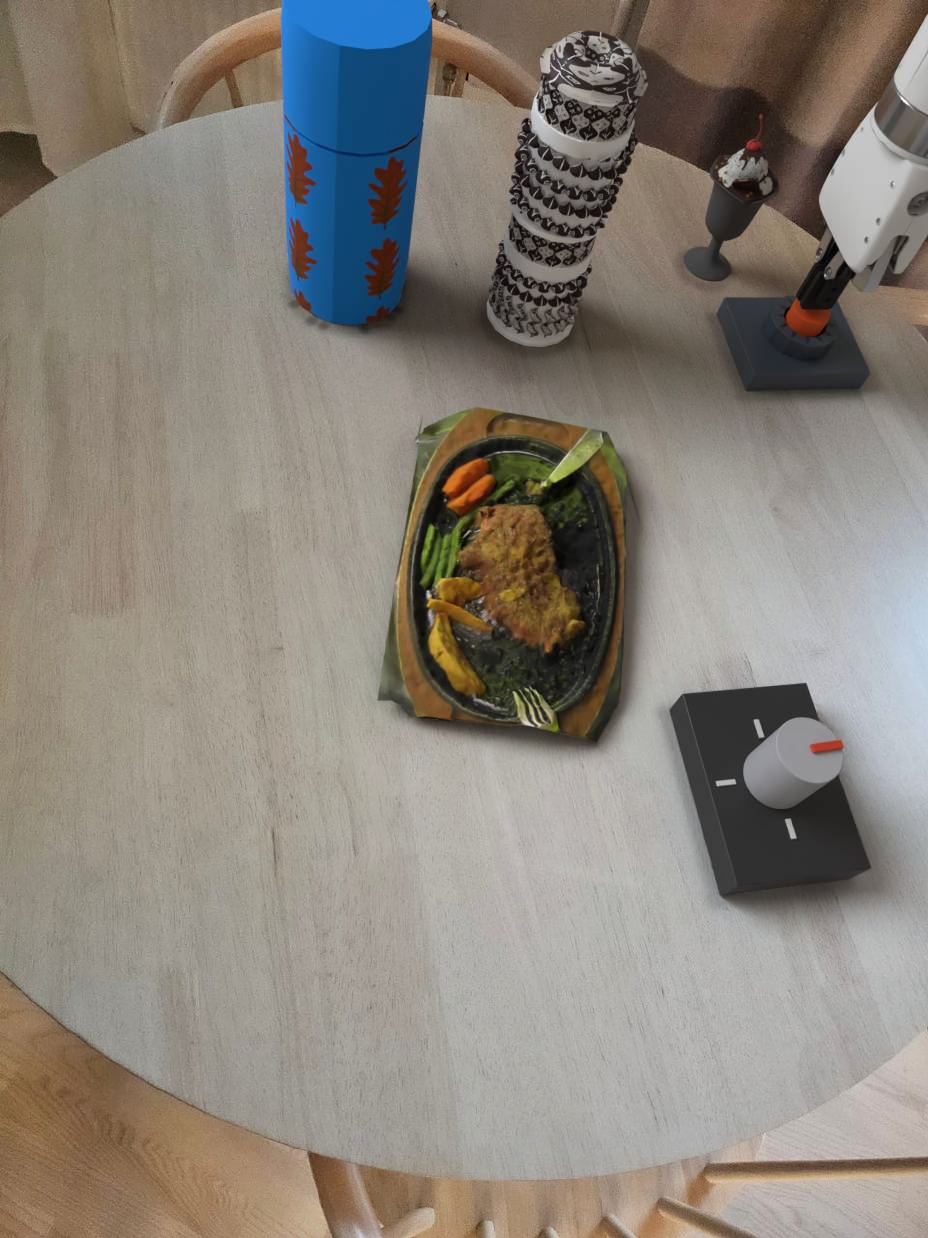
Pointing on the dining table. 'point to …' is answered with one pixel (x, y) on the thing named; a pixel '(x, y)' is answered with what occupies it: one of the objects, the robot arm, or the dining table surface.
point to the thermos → (352, 149)
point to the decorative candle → (564, 184)
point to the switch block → (789, 347)
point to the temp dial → (793, 763)
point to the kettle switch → (806, 320)
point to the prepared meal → (511, 576)
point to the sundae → (732, 205)
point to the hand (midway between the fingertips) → (813, 302)
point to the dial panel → (740, 824)
